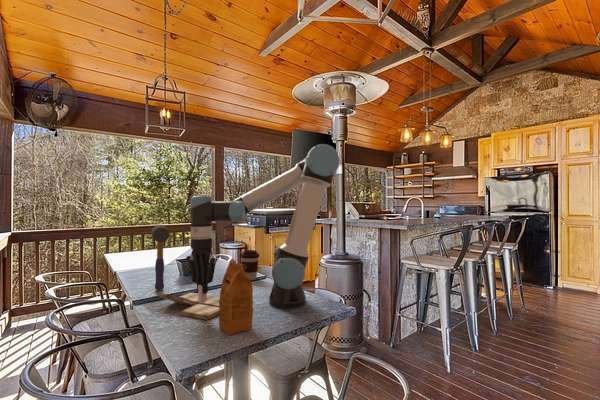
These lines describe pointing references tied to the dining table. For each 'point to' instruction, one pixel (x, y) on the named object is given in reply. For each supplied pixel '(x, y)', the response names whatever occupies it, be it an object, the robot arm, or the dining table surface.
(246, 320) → the coffee package
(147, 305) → the dining table surface
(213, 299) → the wooden board
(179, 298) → the plank
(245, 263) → the coffee cup
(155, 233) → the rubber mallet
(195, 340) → the dining table surface
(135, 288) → the dining table surface
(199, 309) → the plank
